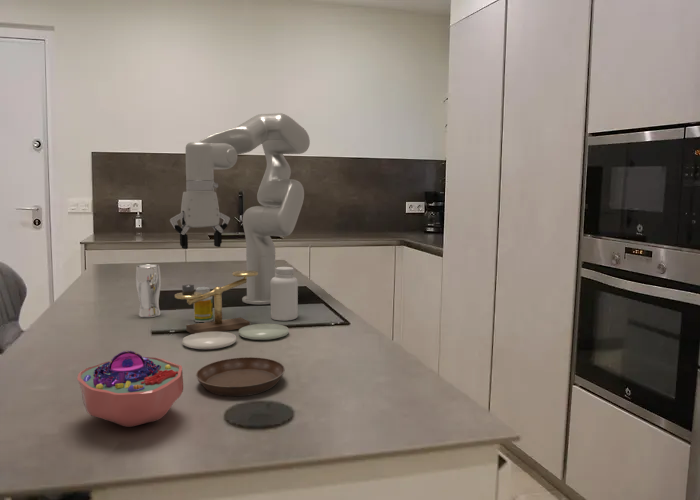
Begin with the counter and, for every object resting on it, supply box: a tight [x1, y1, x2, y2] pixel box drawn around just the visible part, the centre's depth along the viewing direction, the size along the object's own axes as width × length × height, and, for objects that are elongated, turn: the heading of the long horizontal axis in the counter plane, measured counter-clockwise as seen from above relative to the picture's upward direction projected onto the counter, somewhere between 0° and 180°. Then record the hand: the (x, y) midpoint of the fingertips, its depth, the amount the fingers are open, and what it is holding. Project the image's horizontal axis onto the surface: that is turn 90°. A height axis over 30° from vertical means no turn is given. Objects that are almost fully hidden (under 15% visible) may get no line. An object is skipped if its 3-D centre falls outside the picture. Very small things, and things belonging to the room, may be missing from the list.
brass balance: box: [174, 270, 258, 335], centre depth 163 cm, size 23×7×15 cm, turn 125°
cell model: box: [76, 350, 184, 428], centre depth 103 cm, size 17×20×11 cm
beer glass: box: [135, 263, 162, 319], centre depth 178 cm, size 7×7×15 cm
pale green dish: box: [238, 323, 290, 341], centre depth 158 cm, size 13×13×1 cm
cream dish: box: [182, 331, 237, 351], centre depth 150 cm, size 13×13×1 cm
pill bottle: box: [270, 266, 299, 322], centre depth 176 cm, size 8×8×15 cm
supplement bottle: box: [193, 286, 214, 323], centre depth 173 cm, size 5×5×10 cm
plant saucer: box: [195, 356, 286, 397], centre depth 122 cm, size 18×18×3 cm
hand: (201, 247), depth 170 cm, fingers open, 9 cm apart
